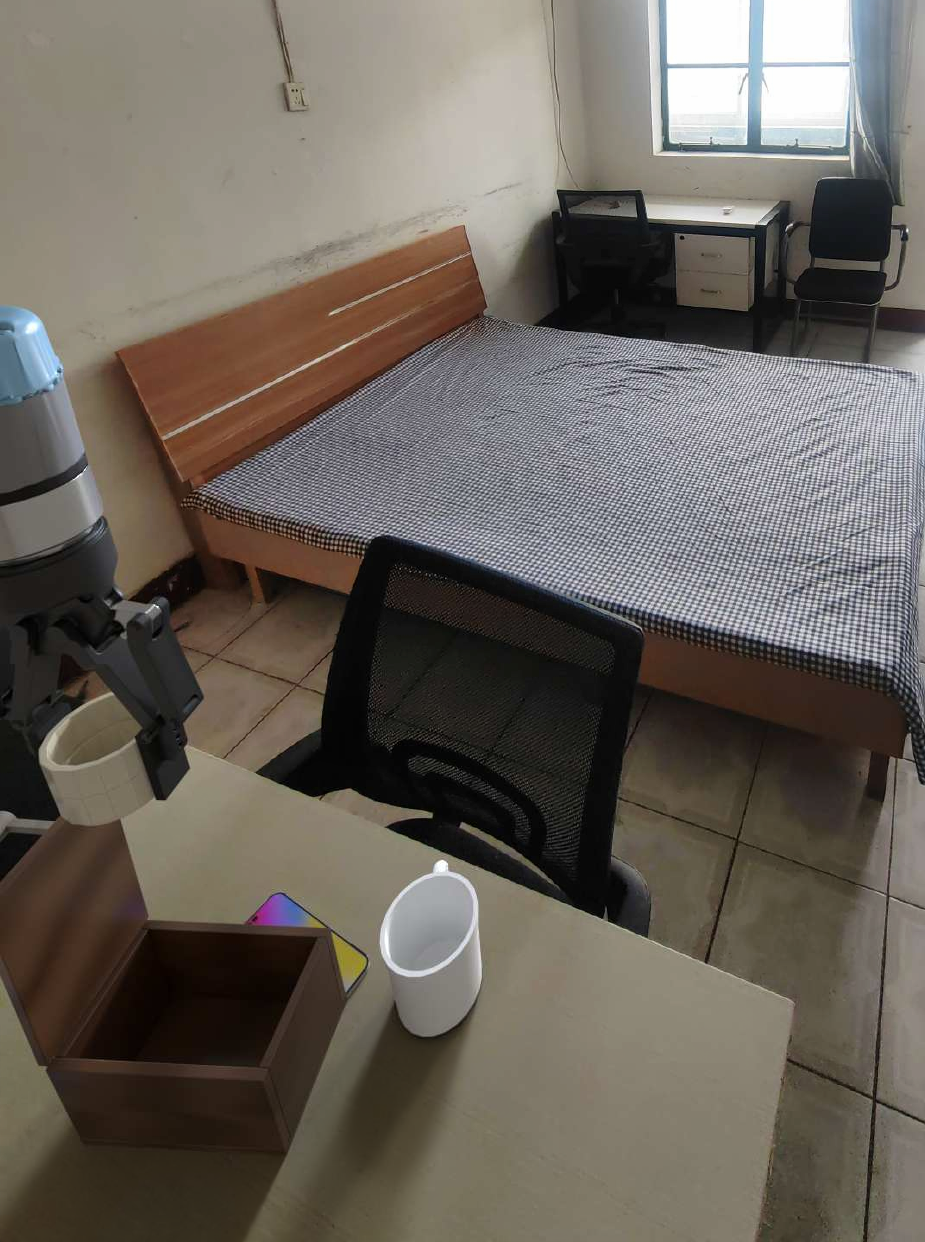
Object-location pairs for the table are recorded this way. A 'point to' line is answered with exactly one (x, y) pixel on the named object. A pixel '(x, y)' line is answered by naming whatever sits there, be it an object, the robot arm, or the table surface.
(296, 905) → the smartphone
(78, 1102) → the wooden box
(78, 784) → the bowl
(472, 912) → the mug
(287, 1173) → the table surface
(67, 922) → the lid
